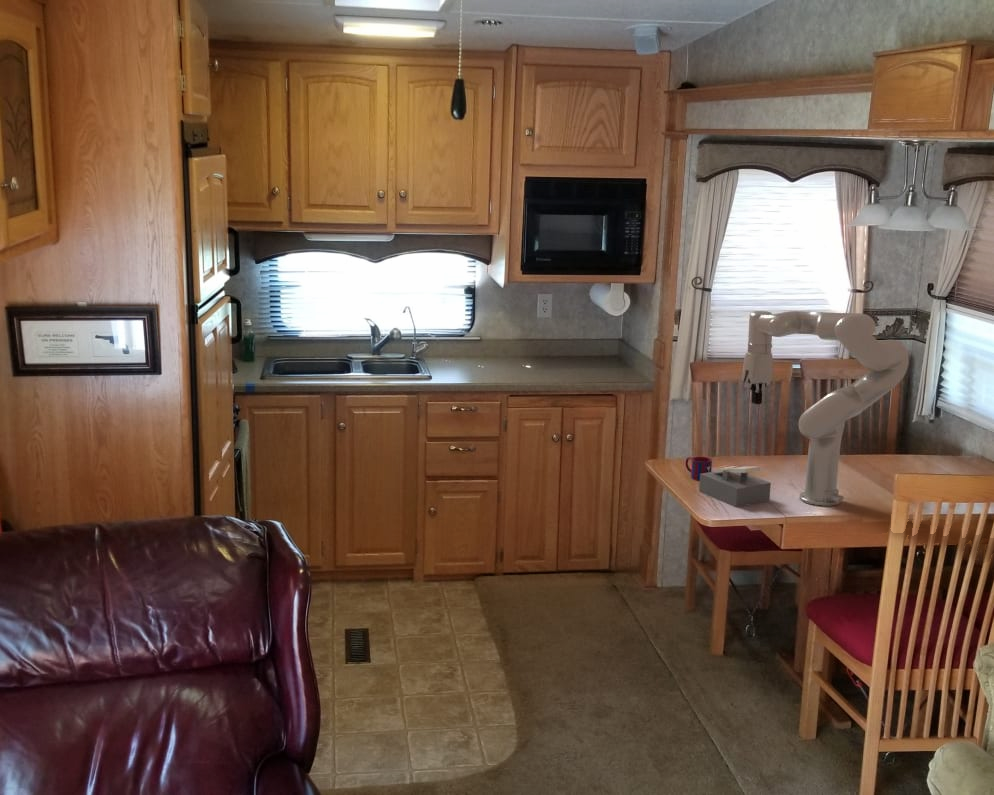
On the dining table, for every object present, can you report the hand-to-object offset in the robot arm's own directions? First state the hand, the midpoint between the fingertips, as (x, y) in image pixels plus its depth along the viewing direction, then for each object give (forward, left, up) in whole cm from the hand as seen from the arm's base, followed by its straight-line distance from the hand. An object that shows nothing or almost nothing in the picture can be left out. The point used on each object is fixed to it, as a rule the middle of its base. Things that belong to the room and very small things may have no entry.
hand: (756, 403), depth 341 cm
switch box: (-7, +14, -28) cm, 32 cm away
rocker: (-7, +14, -19) cm, 25 cm away
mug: (+15, +11, -28) cm, 34 cm away
